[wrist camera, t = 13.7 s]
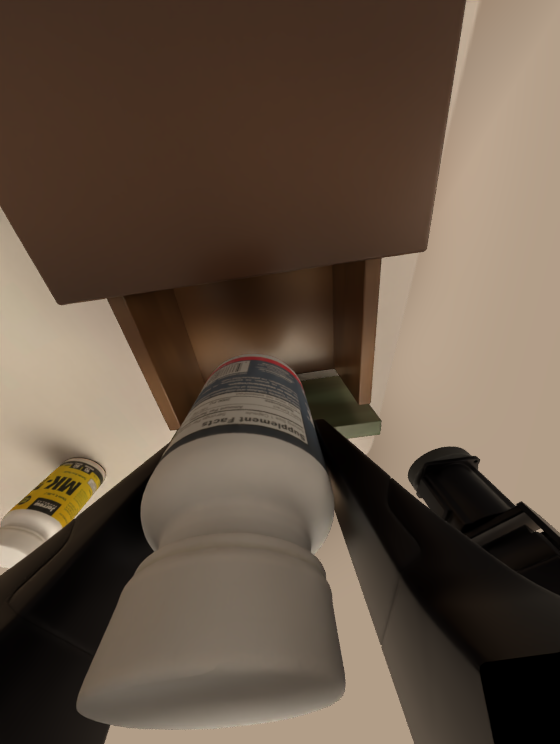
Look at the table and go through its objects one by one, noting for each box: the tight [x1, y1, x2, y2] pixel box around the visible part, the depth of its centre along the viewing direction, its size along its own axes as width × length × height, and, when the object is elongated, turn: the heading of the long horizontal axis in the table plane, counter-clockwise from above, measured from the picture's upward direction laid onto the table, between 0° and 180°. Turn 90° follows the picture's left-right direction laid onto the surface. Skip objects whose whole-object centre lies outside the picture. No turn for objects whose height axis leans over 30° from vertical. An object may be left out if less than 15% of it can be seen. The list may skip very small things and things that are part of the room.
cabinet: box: [0, 0, 466, 305], centre depth 9 cm, size 16×16×9 cm
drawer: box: [107, 258, 381, 442], centre depth 15 cm, size 19×14×7 cm
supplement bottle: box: [0, 458, 106, 568], centre depth 21 cm, size 5×5×8 cm
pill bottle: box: [76, 354, 345, 730], centre depth 7 cm, size 5×5×9 cm
